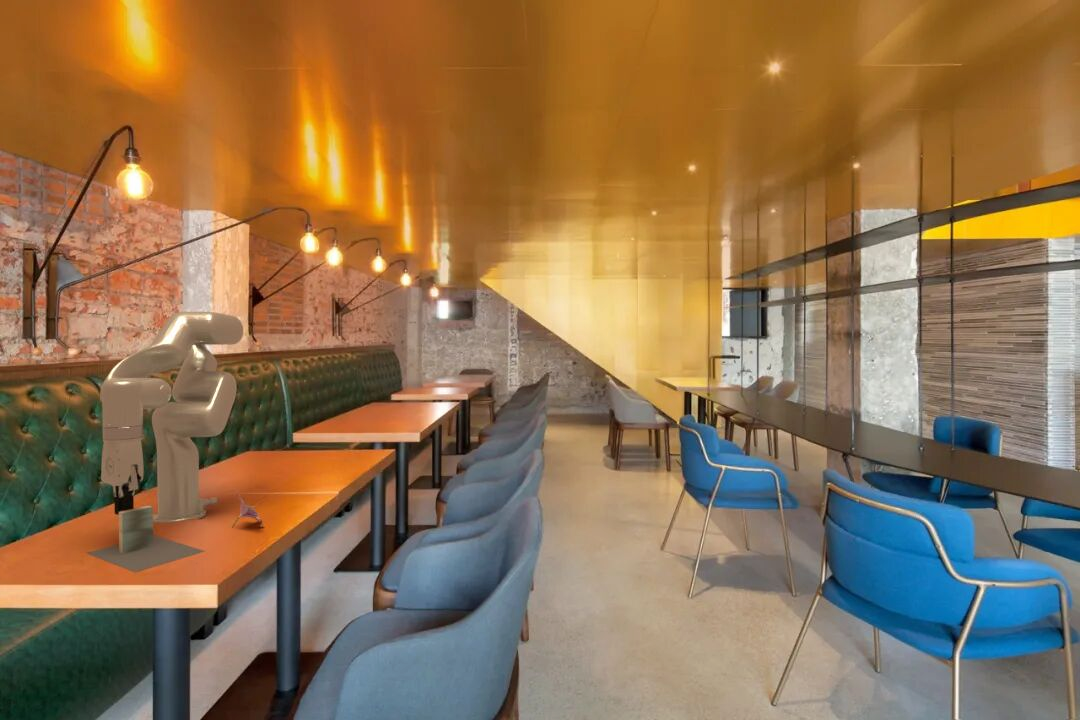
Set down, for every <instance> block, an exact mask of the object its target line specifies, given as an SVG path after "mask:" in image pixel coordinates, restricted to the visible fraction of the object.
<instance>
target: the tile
mask: <svg viewBox="0 0 1080 720" xmlns="http://www.w3.org/2000/svg"><path fill="white" fill-rule="evenodd" d="M153 508H154V507H153V505H152V506H150V505H144V506H140V507H136V508H135V507H134V509H130V510H125V511H121V512H119V515H118V544H119V552H120V553H123V554H125V553H128V552H132V551H136V550H139V549H143V548H147V547H150V546H153V535H154V522H153V515H154V512H153V510H154V509H153Z"/></svg>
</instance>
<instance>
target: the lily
mask: <svg viewBox="0 0 1080 720" xmlns="http://www.w3.org/2000/svg"><path fill="white" fill-rule="evenodd" d="M234 491H235V492H236V494H237V495H238V496H239V497H238V496H237V498H238V499H239V500H240V512H239V515H238V517H237V518H236V520H235V521H234V523H233V525H232V526H231V528H232V529H233V528H234V527H235V525H236V523H237V522H238V520H239V519H240V518H242V517H244V518H253V519H255V520H256V521H258V522H259V524H261V526H264V524H263V523H262V522H263V521H262V519H261V518H260V515H259V514H258V513H257V511H256V510H255V508H256V507H257V506H256V505H254V504H252V506H250V505H247V504H246V503H245V502H244V500H243V498H242V496H241V495H240V493H239V492H238V491H237V490H235V489H234ZM253 505H254V506H253Z"/></svg>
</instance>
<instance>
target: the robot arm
mask: <svg viewBox="0 0 1080 720" xmlns="http://www.w3.org/2000/svg"><path fill="white" fill-rule="evenodd" d="M243 336H244V325H243V323H242V322H241V320H240V318H238V317H236V316H234V315H230V314H225V313H219V312H214V311H178V312H175V313H173V314H171V315H170V316H169V317H168V318H167V319H166V321H165V322H164V324H163V325H162V326H161V328H160V330H159V331H158V333H157V334H156V336H155V337H154V339H153V340H152V342H151V343H150V345H149V346H147V347H144V348H142V349H139V350H138V351H136V352H134V353H132V354H131V355H129V356H127V357H125V358H123V359H122V360H121V361H119V362H118V363H116V365H115V366H113V368H112V369H111V371H110V372H109V374H108V375H107V376H106V377H105V379H104V381H103V383H102V385H101V387H100V392H99V396H100V397H99V398H100V401H101V402H102V403H101V404H102V405H101V407H102V442H103V445H102V452H101V465H100V466H101V469H100V470H101V471H100V474H101V475H100V479H101V481H102V482H103V483H104V484H109V485H110V486H111V487H112V493H113V498H114V499H113V500H114V501H113V502H114V514H115V515H116V516H119V512H121V511H125V510H130V509H135V506H134V504H135V503H134V502H135V501H134V500H135V499H134V495H135V491H137V490H139V483H142V481H143V480H144V456H143V445H142V440H143V439H144V410H153V409H154V411H153V412H152V415H151V424H152V429H153V432H154V438H155V445H156V461H157V462H156V469H157V473H156V474H157V477H156V478H157V481H156V482H157V513H155V514H153V523H161V524H162V523H163V524H164V523H165V524H166V523H177V522H183V521H184V522H185V521H189V520H192V519H197V520H199V519H202V518H204V517H205V516H206V515H207V513H206V512H207V511H206V507H207V506H213V505H216V504H218V498H217V497H216V496H214V497H210V498H207V497H205V498H204V497H203V498H202V497H200V476H199V475H200V473H199V472H200V469H199V467H200V465H199V464H200V462H199V461H200V457H199V456H200V455H199V450H198V448H197V445H196V444H195V442H194V441H193V440H192V439H191V438H209V437H210V438H211V437H212V438H213V437H217V436H218V435H221V433H222V432H223V431H224V430H225V427H226V426H227V423H228V420H229V417H230V414H231V410H232V408H233V405H234V403H235V399H236V395H237V389H238V388H237V380H236V378H235V377H234V375H233V374H231V373H230V372H228V371H222V370H220V371H219V370H217V368H218V361H217V359H216V357H215V356H214V354H213V353H212V352H211V351H210V349H208V348H207V346H210V345H211V346H212V345H213V346H214V345H221V346H222V345H229V346H230V345H236V344H238V343H240V341H241V340H242V338H243ZM206 345H207V346H206ZM179 366H181V368H180V369H179V371H178V374H177V377H176V378H175V381H174V383H173V386H172V387H171V385H170V383H168V382H167V381H166V380H164V379H162V378H159V377H158V378H157V377H148V376H151V375H155V374H158V373H162V372H165V371H168V370H171V369H175V368H177V367H179ZM216 370H217V371H216ZM171 398H173V400H174V401H173V402H172V401H171V402H170V400H171ZM204 508H205V509H204Z"/></svg>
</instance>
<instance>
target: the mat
mask: <svg viewBox="0 0 1080 720" xmlns="http://www.w3.org/2000/svg"><path fill="white" fill-rule="evenodd" d="M204 552H206V550H203V549H199V548H196V547H193V546H191V545H186V544H184V543H180V542H177V541H174V540H171V539H168V538H166V537H165V538H164V537H161V536H158V535H155V534H153V546H150V547H147V548H143V549H139V550H136V551H132V552H128V553H125V554H123V553H120V552H119V543H118V544H114V545H110V546H106V547H103V548H100V549H95V550H91V551H88V552H86V554H87V555H89V556H92V557H94V558H97V559H100V560H103V561H104V562H107V563H109V564H112V565H116V566H118V567H120V568H123V569H126V570H128V571H131V572H133V573H138V572H141V571H144V570H147V569H151V568H154V567H158V566H162V565H164V564H168V563H171V562H175V561H177V560H181V559H184V558H189V557H191V556H194V555H198V554H201V553H204Z"/></svg>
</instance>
